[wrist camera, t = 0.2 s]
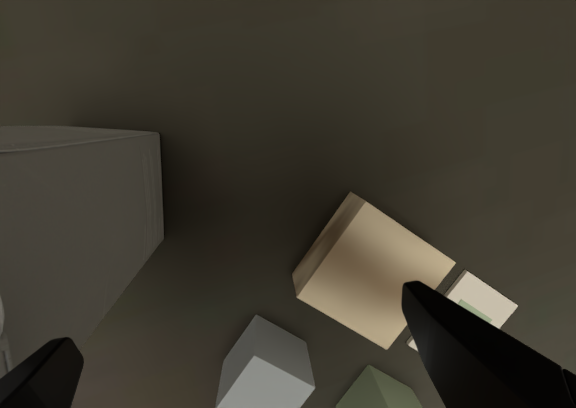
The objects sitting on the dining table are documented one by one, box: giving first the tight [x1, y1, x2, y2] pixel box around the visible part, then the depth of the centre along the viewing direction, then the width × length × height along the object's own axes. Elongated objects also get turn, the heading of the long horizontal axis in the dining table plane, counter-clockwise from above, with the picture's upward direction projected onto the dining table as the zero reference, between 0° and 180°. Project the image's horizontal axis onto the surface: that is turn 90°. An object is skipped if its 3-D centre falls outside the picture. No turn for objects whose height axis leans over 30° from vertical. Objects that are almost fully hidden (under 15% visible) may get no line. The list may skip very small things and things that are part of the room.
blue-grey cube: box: [215, 314, 315, 408], centre depth 24 cm, size 5×5×5 cm
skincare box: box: [0, 126, 164, 378], centre depth 15 cm, size 8×7×16 cm
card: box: [406, 269, 518, 351], centre depth 27 cm, size 8×6×1 cm
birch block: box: [292, 191, 456, 350], centre depth 23 cm, size 8×8×4 cm
